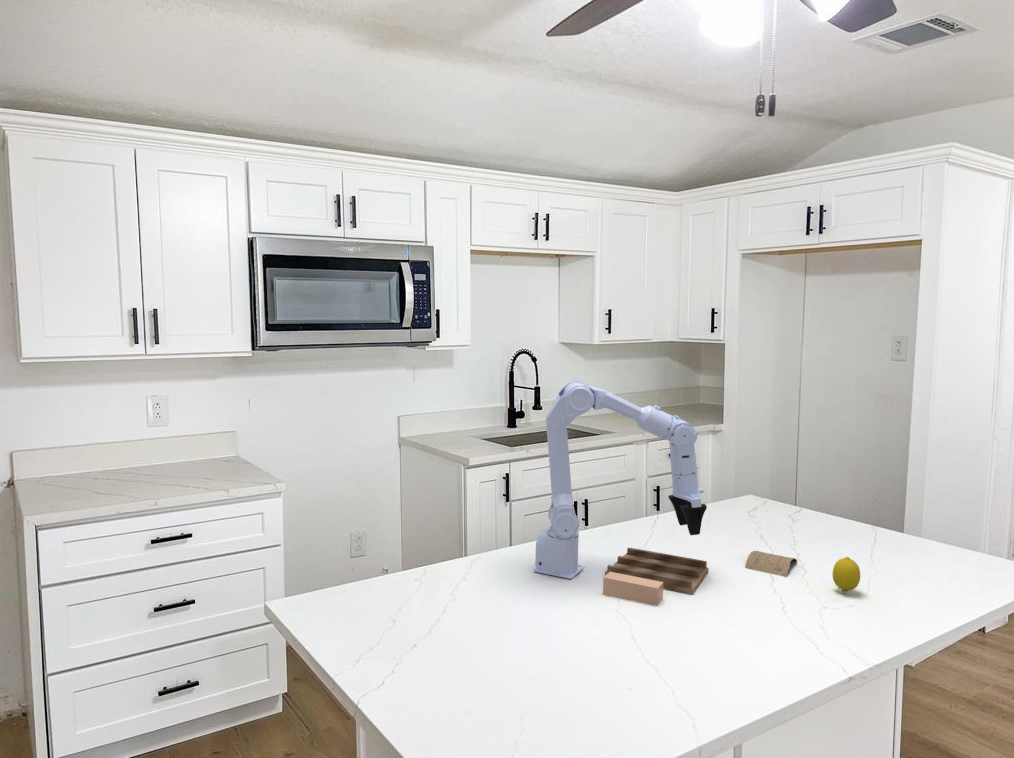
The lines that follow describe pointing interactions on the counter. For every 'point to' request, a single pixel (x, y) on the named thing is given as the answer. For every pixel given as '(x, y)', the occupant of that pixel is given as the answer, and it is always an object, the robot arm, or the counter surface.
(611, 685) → the counter surface
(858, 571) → the lemon
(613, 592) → the peach rectangular block
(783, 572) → the clay tablet
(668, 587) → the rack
